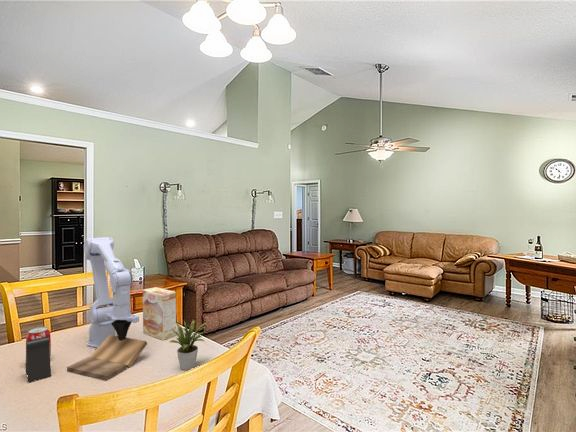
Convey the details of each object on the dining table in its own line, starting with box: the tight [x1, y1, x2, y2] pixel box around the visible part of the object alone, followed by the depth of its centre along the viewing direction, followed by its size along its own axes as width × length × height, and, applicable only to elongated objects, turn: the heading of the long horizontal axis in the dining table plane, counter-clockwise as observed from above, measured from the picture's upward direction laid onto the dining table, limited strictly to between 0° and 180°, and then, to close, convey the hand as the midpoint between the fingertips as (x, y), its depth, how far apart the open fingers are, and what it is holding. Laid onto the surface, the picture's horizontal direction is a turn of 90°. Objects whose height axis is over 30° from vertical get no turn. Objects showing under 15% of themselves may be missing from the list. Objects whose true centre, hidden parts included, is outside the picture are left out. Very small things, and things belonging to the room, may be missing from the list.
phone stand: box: [25, 337, 52, 383], centre depth 109 cm, size 9×6×12 cm, turn 43°
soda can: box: [25, 326, 52, 358], centre depth 118 cm, size 7×7×12 cm
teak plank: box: [89, 335, 148, 368], centre depth 121 cm, size 18×10×2 cm, turn 70°
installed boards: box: [66, 356, 127, 381], centre depth 112 cm, size 18×8×2 cm, turn 70°
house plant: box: [169, 319, 209, 371], centre depth 113 cm, size 14×14×16 cm
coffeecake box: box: [142, 286, 177, 341], centre depth 144 cm, size 15×7×20 cm, turn 55°
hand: (122, 339), depth 122 cm, fingers closed
